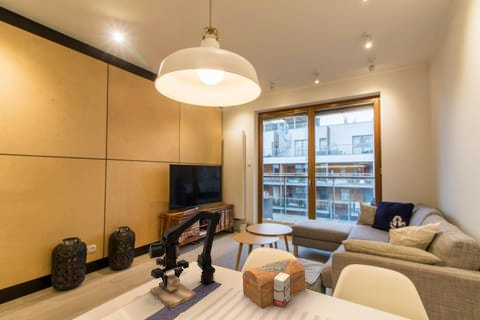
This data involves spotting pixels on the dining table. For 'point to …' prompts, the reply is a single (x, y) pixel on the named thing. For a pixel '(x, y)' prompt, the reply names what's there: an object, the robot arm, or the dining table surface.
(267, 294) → the wooden box
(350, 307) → the dining table surface
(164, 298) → the oak board
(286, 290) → the ink box
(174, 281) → the tan rectangular block
